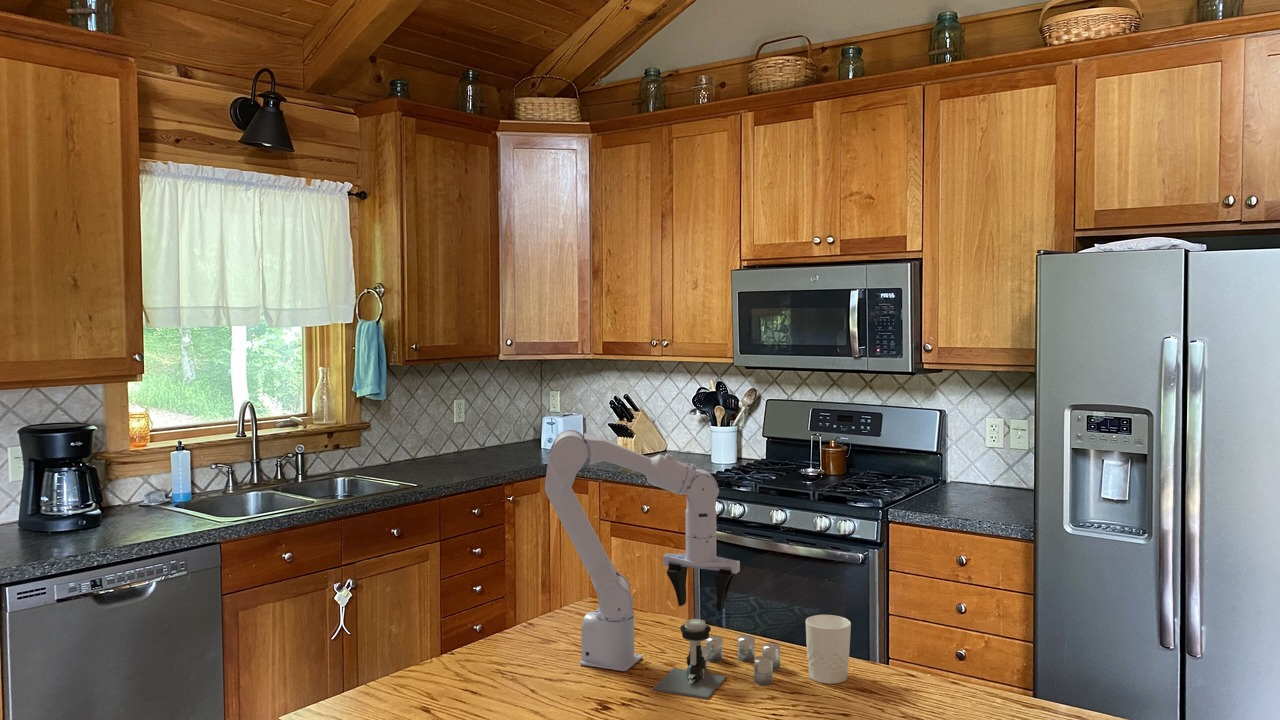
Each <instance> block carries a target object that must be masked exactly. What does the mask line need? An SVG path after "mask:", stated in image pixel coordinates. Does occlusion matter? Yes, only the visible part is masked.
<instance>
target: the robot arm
mask: <svg viewBox="0 0 1280 720" xmlns="http://www.w3.org/2000/svg"><path fill="white" fill-rule="evenodd" d="M587 460H588V462H589V465H590V466H591V465H594V464H597V463H602V462H606V463H607V462H608V463H610V464H614V465H616V466H619V467H621V468H626V469H628V470H631V471H634V472H637V473H640V474H643V475H644V476H645V478H646V480H647V482H648V484H650V485H653V486H655V487H658V488H660V489H662V490H666V491H668V492H671V493H674V494H676V495H679V496H683V495H686V509H685V553H665V554H664V555H663V557H662V559H663V562H662V565H663V567H667V568H668V569H666V576H668V578H669V580H670V582H671V584H672V586H673V589H674V592H675V595H676V599H677V603H678V605H677V606H678V607H683V606H684V605H685V604H686V603H687V575H688V568H692V569H701V570H707V571H708V570H710V571H718V572H717V573H715V574H714V580H715V587H716V611H717V612H722V611H723V610H724V609H725V606H726V604H725V603H726V600H727V596H728V592H729V589H730V587H731V585H732V582H733V580H734V578H735V576H736V574H738V573H739V572H741V565H740V564H741V562H740V560H734V559H731V558H725V557H721V556H717V510H716V505H717V502H716V500H717V498H718V496H719V493H720V488H719V485H718V482H717V480H716V479H715V478H714V476H713V475H712V474H711V473H710V472H709V471H707V470H705V469H704V468H703V467H698V466H697V465H696V464H693V463H691V464H690V465H689V464H686V463H684V462H681V461H678V460H676V459H674V456H673V454H669V453H665V455H663V454H657V455H655V456H652V457H648V456H646V455H643V454H641V453H639V452H637V451H634V450H632V449H629V448H627V447H625V446H622V445H619V444H617V443H615V442H613V441H610V440H608V439H605V438H603V437H600V436H596V435H592V434H589V433H586V432H585V433H583V434H582V433H581V432H579V431H578V430H575V429H566V430H563V431H560V432H559V434H557V436H556V437H555V438H554V440H553V442H552V444H551V447H550V449H549V451H548V459H547V466H546V475H545V482H544V492H545V495H546V497H547V498H548V500H549V503H551V505H552V508H553V510H554V511H555V513H556V516H557V517H558V519H559V521H560V523H561V524H562V526H563V528H564V530H565V532H566V534H567V535H568V536H567V537H569V540H570V542H571V544H572V545H573V546H574V549H575V551H576V553H577V554H578V557H579V558H580V561H581V562H582V564H583V566H584V568H585V570H586V571H587V574H588V576H589V578H590V580H591V583H592V586H593V589H594V590H595V592H596V594H597V599H598V607H597V609H596V610H595V611H589V612H587V613H586V614H585V615H584V617H583V620H582V624H581V634H580V636H581V637H580V641H581V643H580V644H581V646H580V648H581V654H580V655H581V660H580V661H579V665H581V666H588V667H593V668H600V669H607V670H613V671H621V672H627V671H629V670H630V669H631V667H633V666H634V665H636V663H637V662H639V661H640V660H641V659H642V658H643V654H640V653H639V654H638V653H635V611H634V610H633V606H634V599H633V595H632V593H631V585H630V582H629V580H628V579H627V577H625V576H624V574H621V573H620V572H618V570H617V569H616V567H615V565H614V563H613V562H612V561H611V559H610V558H609V556H608V553H607V552H606V550H605V548H604V546H603V544H602V542H601V541H600V539H599V537H598V535H597V533H596V531H595V529H594V528H593V525H592V524H591V522H590V520H589V518H588V516H587V514H586V512H585V510H584V508H583V506H582V504H581V502H580V501H579V499H578V497H577V495H576V494H575V493H576V492H574V489H573V487H572V486H573V485H574V482H575V479H576V476H577V474H578V472H579V471H580V470H581V469H582V467H583V466H584V465H585V463H586V462H587Z"/></svg>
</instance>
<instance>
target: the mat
mask: <svg viewBox="0 0 1280 720" xmlns="http://www.w3.org/2000/svg"><path fill="white" fill-rule="evenodd" d="M686 671H687V670H686V669H683V668H676V667H673V668H672V669H671V670H670V671H669V672H668V673H667V674H666V675H665V676H663V678H661V679H660V680H659V681H658V682H657V683H656V684H655V685H654V686H653V687H652V691H655V692H661V693H667V694H674V695H679V696H684V697H685V696H686V697H692V698H698V699H702V700H703V699H705V700H709V698H710V697H711V696H712V695H714V694H715V692H716V691H717V690H718V688H719V687H720V686H721V685H722V684H723V683H724V682H725V680H726V679H727V675H722V674H716V673H711V672H710V673H709V672H705V675H703V676H704V678H702V676H701V678H700V679H699V681H698V682H697V683H694V682H693V683H692V684H691V683H688V681H687V676H686Z"/></svg>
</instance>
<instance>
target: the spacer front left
mask: <svg viewBox="0 0 1280 720" xmlns="http://www.w3.org/2000/svg"><path fill="white" fill-rule="evenodd" d="M688 649H689V651H688V653H689V652H690V646H689V648H688ZM701 651H702V657H704V660H705V673H707V671H708V661H707V647H705V645H702V644H701Z"/></svg>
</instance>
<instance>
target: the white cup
mask: <svg viewBox="0 0 1280 720" xmlns="http://www.w3.org/2000/svg"><path fill="white" fill-rule="evenodd" d="M851 626H852V623H851V621H850V620H849V619H848V618H846V617H844V616H839V615H835V614H834V615H832V614H815V615H812V616H809V617H808V616H807V617H806V619H805V636H806V637H805V640H806V644H805V645H806V654H807V655H806V656H807V657H806V658H807V662H808V663H807V664H808V665H807V666H808V676H809V678H810V679H811V680H813V681H815V682H817V683H821V684H826V685H827V684H828V685H830V684H831V685H832V684H833V685H835V684H840V683H844V682H845V681H847V679H848V675H849V674H848V671H849V670H848V669H849V663H850V662H849V660H850V647H851V646H850V645H851V629H852V627H851Z"/></svg>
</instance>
